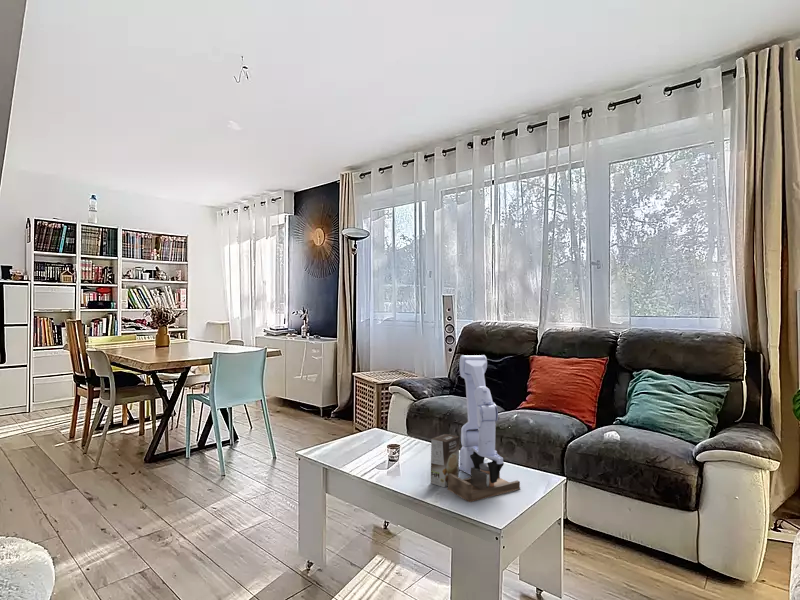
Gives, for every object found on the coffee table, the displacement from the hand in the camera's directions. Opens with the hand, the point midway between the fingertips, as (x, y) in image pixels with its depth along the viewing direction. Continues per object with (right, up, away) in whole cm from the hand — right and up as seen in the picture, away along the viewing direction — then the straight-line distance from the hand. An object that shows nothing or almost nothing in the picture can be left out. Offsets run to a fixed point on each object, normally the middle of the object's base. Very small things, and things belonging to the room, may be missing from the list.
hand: (486, 478), depth 170 cm
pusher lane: (-1, -4, -1) cm, 4 cm away
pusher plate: (-2, -4, -1) cm, 5 cm away
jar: (0, -3, 0) cm, 3 cm away
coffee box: (-14, -4, +6) cm, 15 cm away
